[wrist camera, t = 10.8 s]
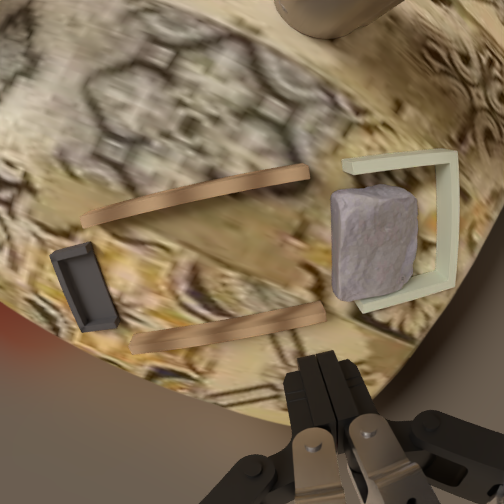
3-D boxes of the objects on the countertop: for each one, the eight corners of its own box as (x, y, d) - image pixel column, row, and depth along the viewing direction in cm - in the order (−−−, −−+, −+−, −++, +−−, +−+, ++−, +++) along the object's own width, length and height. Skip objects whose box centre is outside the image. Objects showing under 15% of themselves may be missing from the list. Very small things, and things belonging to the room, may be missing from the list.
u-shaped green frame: (441, 148, 30) (457, 150, 27) (442, 276, 36) (454, 286, 33) (341, 159, 30) (352, 162, 27) (353, 300, 36) (362, 313, 33)
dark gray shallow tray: (90, 241, 31) (84, 246, 30) (120, 321, 35) (116, 328, 33) (55, 250, 31) (49, 255, 30) (85, 325, 35) (81, 332, 34)
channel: (302, 163, 30) (308, 165, 28) (321, 309, 36) (326, 321, 34) (89, 210, 30) (79, 217, 28) (137, 342, 36) (132, 354, 34)
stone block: (397, 178, 33) (320, 188, 31) (426, 186, 29) (346, 198, 27) (393, 272, 38) (323, 293, 36) (417, 289, 33) (344, 314, 31)
